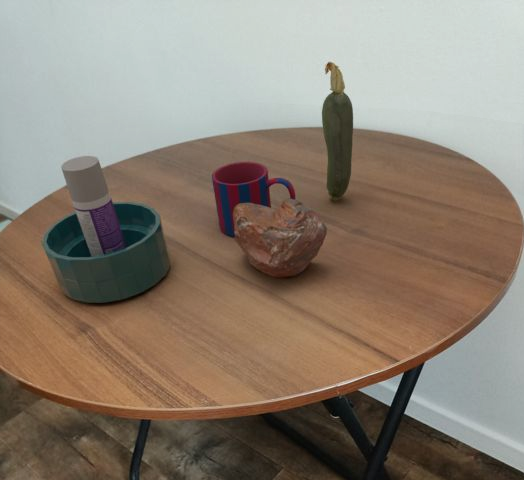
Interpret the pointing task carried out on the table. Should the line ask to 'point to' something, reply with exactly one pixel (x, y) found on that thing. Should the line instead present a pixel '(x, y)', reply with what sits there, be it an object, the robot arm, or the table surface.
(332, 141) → the vegetable
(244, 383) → the table surface
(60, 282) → the teal pet bowl
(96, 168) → the container
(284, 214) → the stone
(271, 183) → the mug
